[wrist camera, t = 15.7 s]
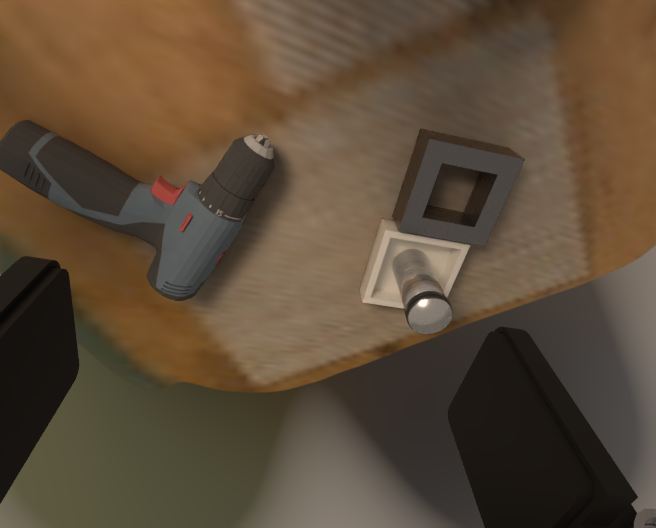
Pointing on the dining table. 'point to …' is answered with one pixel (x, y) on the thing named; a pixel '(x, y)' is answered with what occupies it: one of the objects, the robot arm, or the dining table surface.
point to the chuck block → (483, 202)
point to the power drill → (146, 200)
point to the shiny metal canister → (421, 292)
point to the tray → (391, 242)
